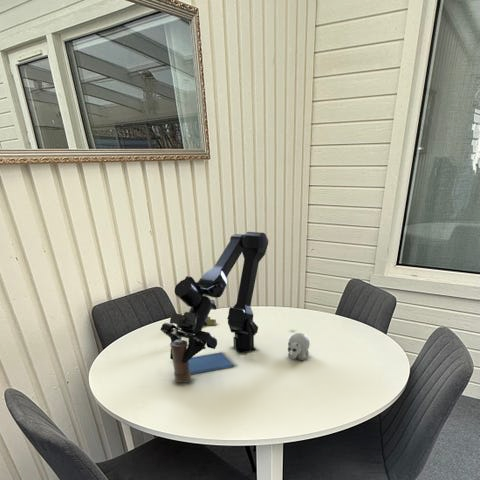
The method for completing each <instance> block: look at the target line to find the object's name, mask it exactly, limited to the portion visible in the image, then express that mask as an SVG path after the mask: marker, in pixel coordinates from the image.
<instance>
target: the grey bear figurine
mask: <svg viewBox="0 0 480 480" xmlns="http://www.w3.org/2000/svg"><path fill="white" fill-rule="evenodd" d="M310 345H311V343H310V339H309V337H308V336H307V335H306V334H305V333H302V332H296V333H294V334H292V335H291V336H290V338H289V339H288V343H287V352H288V354H287V356H288V359H291V360H295V359H298V360H300V361H304V360H307V359H306V358H307V357H309V354H310V352H309V349H310Z"/></svg>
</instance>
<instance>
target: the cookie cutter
mask: <svg viewBox="0 0 480 480" xmlns="http://www.w3.org/2000/svg"><path fill="white" fill-rule="evenodd" d="M205 322H206V323H207V326H206V327H208V326H216V325H217V319H212V318H211V316H208V317H207V319H206V321H205ZM176 327H177V328H178V329H179V330H180V328H179V327H178V326H177V325H176Z"/></svg>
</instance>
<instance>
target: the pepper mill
mask: <svg viewBox="0 0 480 480" xmlns="http://www.w3.org/2000/svg"><path fill="white" fill-rule="evenodd" d="M169 346H170V350H171V349H172V356H173V360H172V362H173V375H174V381H175V382H176V383H187V382H189V381H191V380H192V375H191V374H190V370H189V361H187V362H186V363H183V362H182V360H183V357H184V355H185V352H186V350H187V348H188V345H187V342H186V341H184V340H182V339H181V340H175V341H173V342H171V341H170V343H169Z"/></svg>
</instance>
